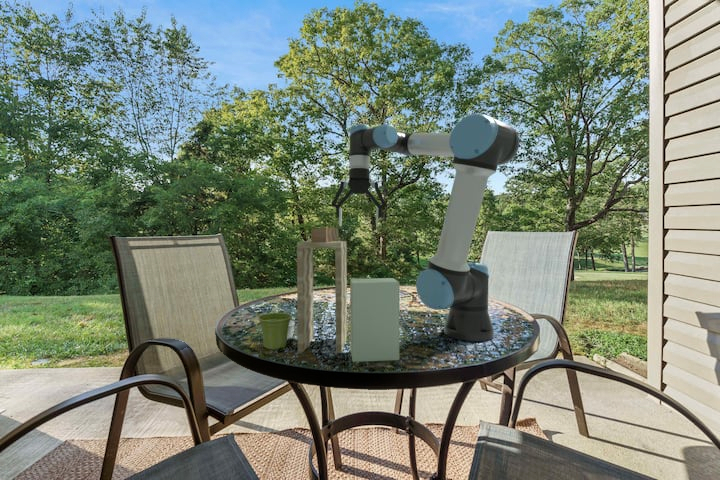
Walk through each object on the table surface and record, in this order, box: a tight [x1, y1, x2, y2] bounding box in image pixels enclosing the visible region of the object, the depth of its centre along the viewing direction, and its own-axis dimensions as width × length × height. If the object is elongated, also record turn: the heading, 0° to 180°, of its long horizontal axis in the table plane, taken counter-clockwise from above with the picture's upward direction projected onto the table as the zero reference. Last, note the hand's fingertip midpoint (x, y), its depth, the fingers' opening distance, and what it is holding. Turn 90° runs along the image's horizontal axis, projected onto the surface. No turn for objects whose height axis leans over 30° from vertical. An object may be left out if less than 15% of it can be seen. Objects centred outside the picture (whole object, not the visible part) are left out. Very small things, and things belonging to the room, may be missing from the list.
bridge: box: [296, 240, 348, 354], centre depth 103 cm, size 14×12×30 cm
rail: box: [310, 227, 339, 242], centre depth 108 cm, size 24×4×4 cm, turn 176°
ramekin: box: [287, 319, 295, 340], centre depth 112 cm, size 9×9×4 cm
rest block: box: [349, 277, 400, 363], centre depth 94 cm, size 12×8×20 cm, turn 96°
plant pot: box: [257, 312, 293, 350], centre depth 102 cm, size 9×9×9 cm
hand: (358, 226), depth 131 cm, fingers open, 13 cm apart
